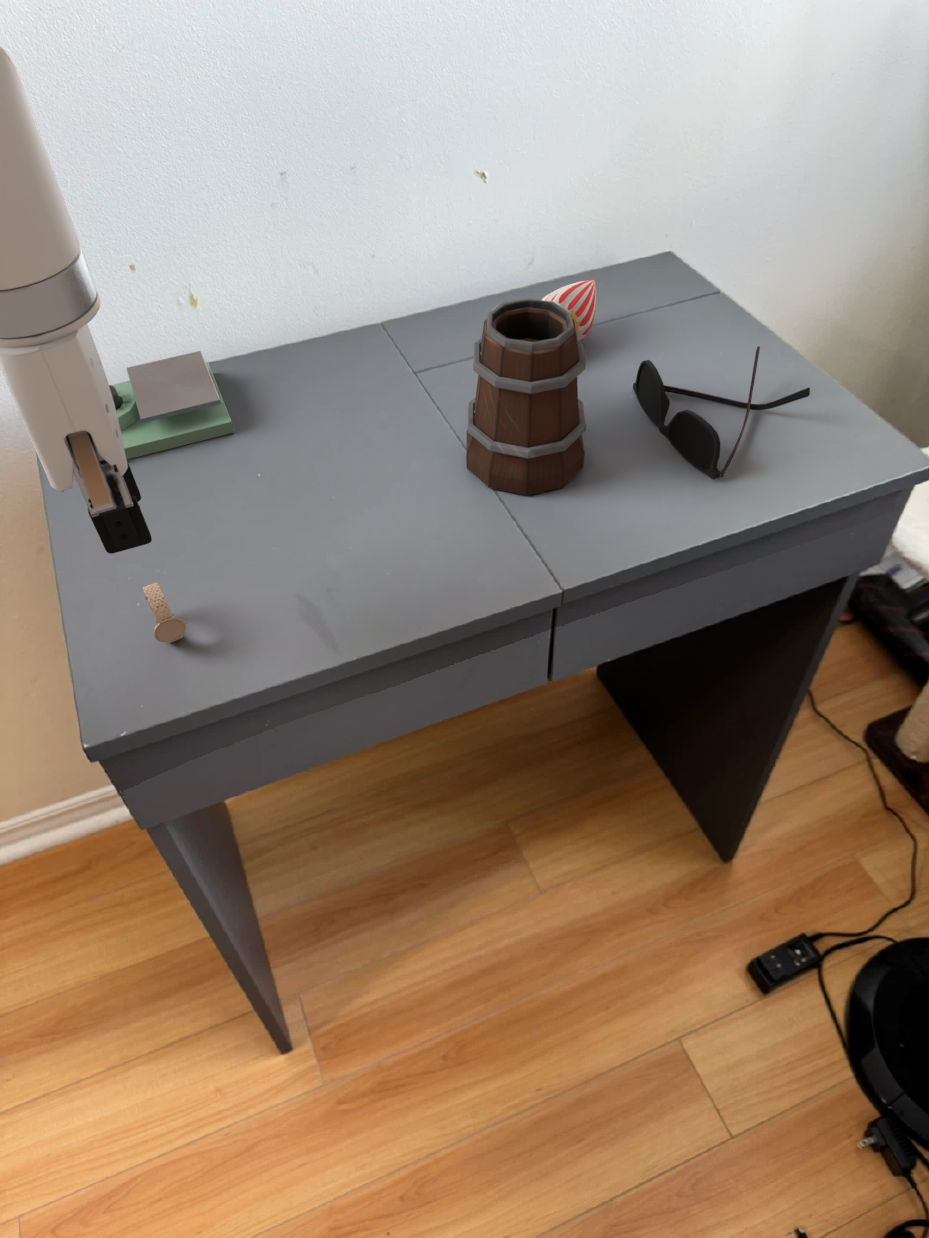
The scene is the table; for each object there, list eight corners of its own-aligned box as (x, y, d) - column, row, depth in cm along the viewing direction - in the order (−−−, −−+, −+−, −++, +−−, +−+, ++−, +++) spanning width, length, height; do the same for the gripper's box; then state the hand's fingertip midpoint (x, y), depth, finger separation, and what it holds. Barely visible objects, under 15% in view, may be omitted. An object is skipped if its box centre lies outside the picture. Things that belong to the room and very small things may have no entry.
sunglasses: (829, 452, 87) (844, 409, 83) (701, 486, 84) (711, 444, 80) (738, 364, 97) (748, 323, 94) (621, 392, 94) (627, 351, 91)
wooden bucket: (602, 479, 85) (619, 341, 74) (484, 506, 83) (483, 368, 71) (544, 391, 95) (551, 257, 83) (438, 413, 93) (430, 279, 81)
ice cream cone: (497, 421, 99) (588, 308, 105) (534, 415, 93) (627, 296, 100) (465, 378, 95) (561, 264, 102) (502, 369, 90) (600, 250, 97)
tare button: (93, 418, 89) (87, 404, 88) (90, 403, 91) (84, 388, 89) (123, 411, 90) (117, 397, 88) (119, 396, 91) (113, 381, 90)
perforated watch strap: (163, 656, 71) (145, 616, 68) (146, 619, 74) (128, 578, 70) (195, 643, 72) (178, 603, 68) (177, 607, 75) (160, 566, 71)
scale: (93, 468, 88) (82, 444, 86) (79, 404, 95) (69, 380, 93) (234, 432, 91) (228, 408, 89) (211, 373, 99) (204, 349, 96)
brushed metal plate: (142, 423, 88) (140, 418, 87) (127, 372, 94) (126, 367, 93) (221, 404, 89) (219, 399, 89) (202, 355, 96) (200, 350, 95)
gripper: (-47, 242, 55) (61, 471, 68) (-40, 381, 44) (85, 619, 58) (76, 218, 56) (157, 447, 70) (110, 348, 46) (198, 586, 60)
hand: (124, 522), depth 64 cm, fingers open, 4 cm apart
